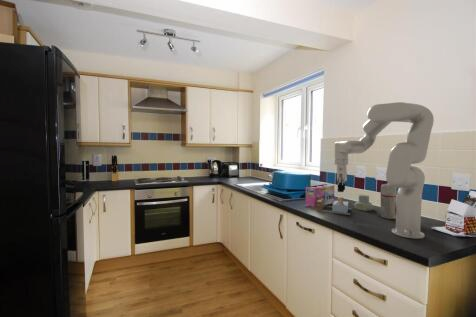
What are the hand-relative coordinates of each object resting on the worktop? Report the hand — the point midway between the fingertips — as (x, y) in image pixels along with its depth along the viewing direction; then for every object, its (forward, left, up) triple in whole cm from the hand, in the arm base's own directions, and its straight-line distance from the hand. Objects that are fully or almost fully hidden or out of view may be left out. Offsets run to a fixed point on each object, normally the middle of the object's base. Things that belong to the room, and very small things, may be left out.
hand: (341, 190), depth 152 cm
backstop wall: (+3, +12, -14) cm, 19 cm away
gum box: (+19, +15, -15) cm, 28 cm away
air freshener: (+16, -12, -14) cm, 25 cm away
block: (+3, +1, -13) cm, 14 cm away
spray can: (+5, -25, -14) cm, 29 cm away
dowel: (0, 0, -13) cm, 13 cm away
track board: (+3, +4, -14) cm, 15 cm away
